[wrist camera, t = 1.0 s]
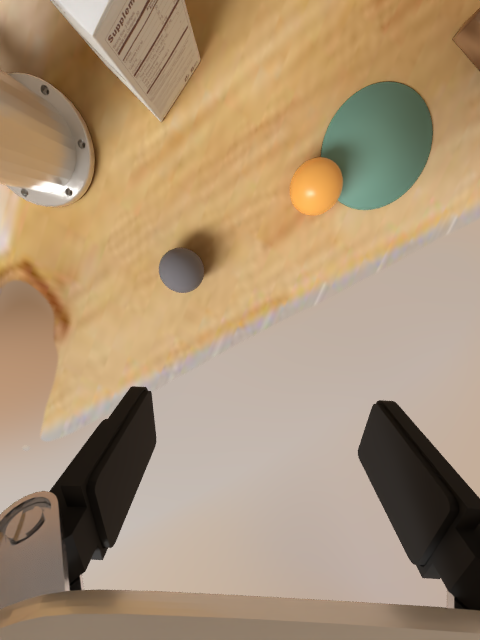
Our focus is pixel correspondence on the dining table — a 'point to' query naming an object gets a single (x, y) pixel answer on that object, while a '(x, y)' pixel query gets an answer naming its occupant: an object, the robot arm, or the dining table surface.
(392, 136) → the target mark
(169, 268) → the grey rounded piece
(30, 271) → the dining table surface
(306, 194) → the object ball
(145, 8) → the supplement box
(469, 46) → the wall
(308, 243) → the dining table surface
